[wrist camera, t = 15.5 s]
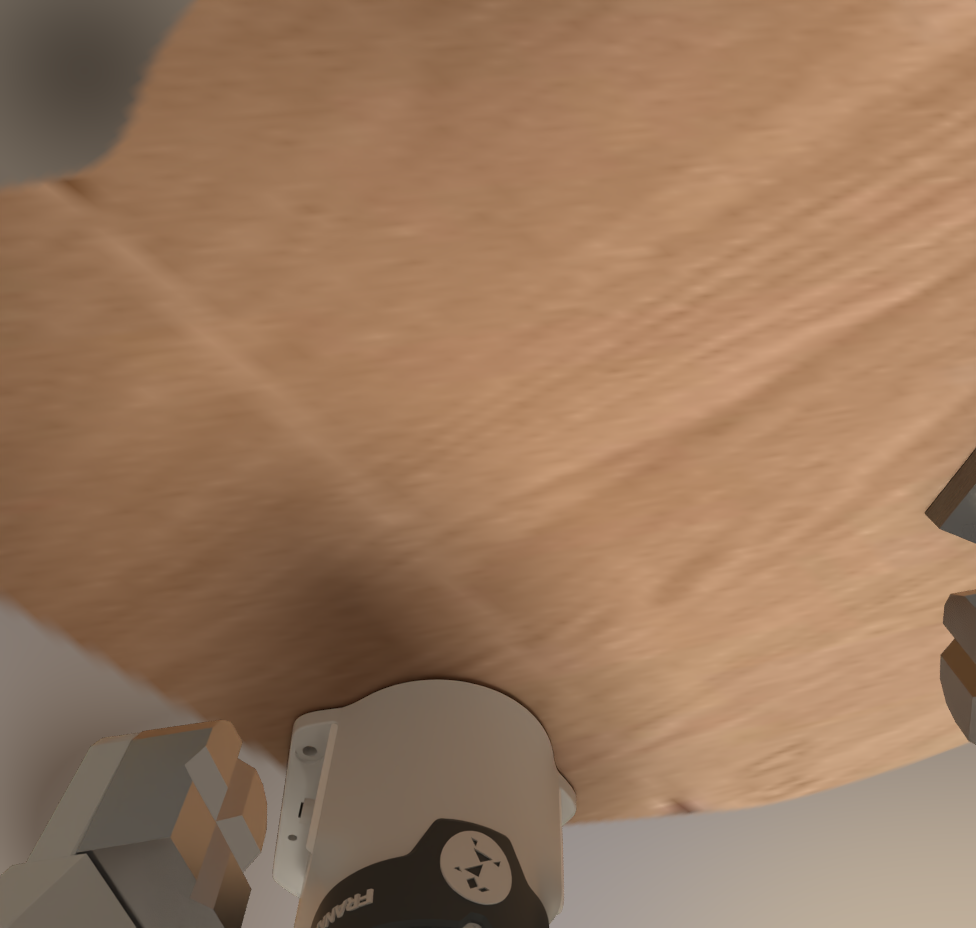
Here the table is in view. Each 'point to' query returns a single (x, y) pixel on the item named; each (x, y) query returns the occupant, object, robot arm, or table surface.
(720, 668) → the table surface
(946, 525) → the plate with brass posts
